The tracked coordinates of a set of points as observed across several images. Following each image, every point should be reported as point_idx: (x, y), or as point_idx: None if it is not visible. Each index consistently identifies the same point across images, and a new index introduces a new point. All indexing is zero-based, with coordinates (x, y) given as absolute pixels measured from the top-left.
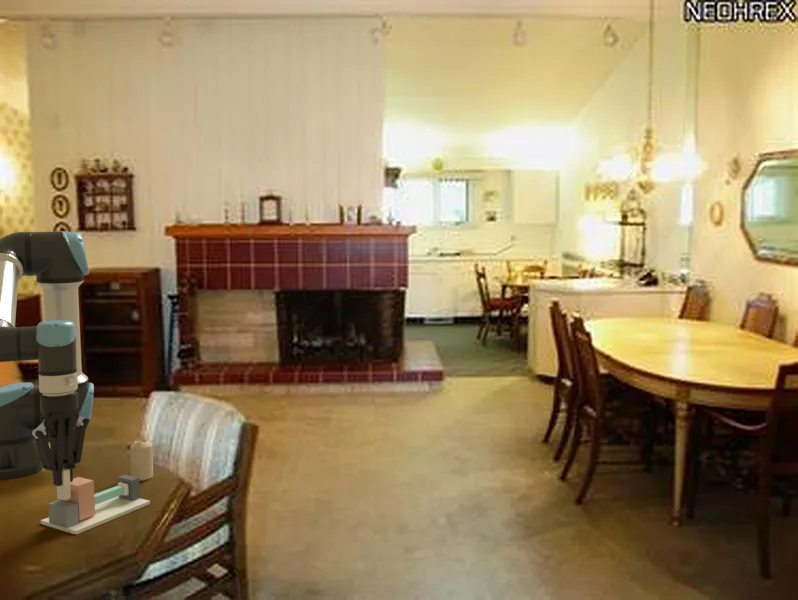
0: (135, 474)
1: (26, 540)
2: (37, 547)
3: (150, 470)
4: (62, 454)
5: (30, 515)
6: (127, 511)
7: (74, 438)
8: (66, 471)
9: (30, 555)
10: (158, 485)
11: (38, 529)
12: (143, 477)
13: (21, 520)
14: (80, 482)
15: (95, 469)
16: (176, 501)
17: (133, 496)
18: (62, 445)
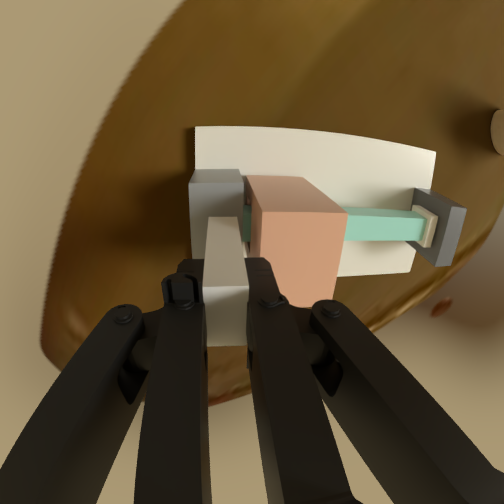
0: (501, 134)
1: (111, 202)
2: (110, 261)
3: None
4: (207, 431)
5: (226, 40)
6: (353, 273)
7: (399, 448)
8: (225, 341)
9: (87, 283)
10: (482, 198)
11: (167, 159)
12: (498, 149)
13: (185, 53)
14: (293, 283)
15: (487, 7)
16: (423, 296)
17: (410, 244)
18: (268, 444)
